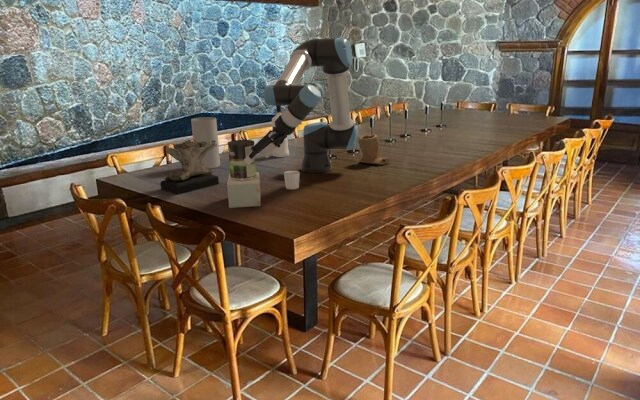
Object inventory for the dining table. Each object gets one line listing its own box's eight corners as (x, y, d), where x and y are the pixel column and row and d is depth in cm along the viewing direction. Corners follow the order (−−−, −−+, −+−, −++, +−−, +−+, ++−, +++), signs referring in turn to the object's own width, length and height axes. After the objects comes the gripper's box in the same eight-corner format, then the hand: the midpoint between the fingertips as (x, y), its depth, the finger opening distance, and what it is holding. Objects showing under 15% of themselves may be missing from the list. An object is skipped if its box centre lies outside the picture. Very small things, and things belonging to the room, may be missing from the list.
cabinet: (260, 195, 209) (259, 171, 206) (260, 207, 193) (259, 182, 190) (231, 197, 208) (229, 173, 205) (228, 209, 192) (226, 183, 189)
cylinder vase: (214, 169, 257) (210, 120, 249) (191, 169, 259) (186, 120, 252) (223, 164, 268) (219, 117, 261) (202, 163, 271) (197, 117, 264)
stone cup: (353, 164, 261) (353, 135, 256) (367, 160, 269) (366, 132, 265) (378, 167, 251) (378, 138, 247) (391, 163, 260) (391, 134, 256)
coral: (207, 178, 240) (203, 133, 234) (233, 185, 226) (229, 137, 220) (160, 189, 223) (154, 141, 217) (185, 197, 209) (179, 146, 203)
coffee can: (234, 181, 192) (231, 145, 188) (227, 176, 201) (224, 141, 197) (260, 178, 196) (257, 142, 192) (252, 173, 205) (249, 138, 201)
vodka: (269, 156, 286) (266, 102, 277) (283, 153, 291) (280, 101, 283) (279, 158, 279) (276, 103, 270) (292, 156, 284) (290, 102, 276)
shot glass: (300, 185, 223) (299, 169, 221) (300, 189, 216) (299, 173, 214) (284, 185, 223) (284, 170, 221) (284, 190, 216) (283, 174, 214)
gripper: (279, 134, 172) (244, 173, 182) (309, 123, 194) (277, 159, 204) (264, 118, 173) (231, 158, 183) (297, 109, 194) (265, 146, 205)
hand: (255, 159), depth 194 cm, fingers open, 13 cm apart
